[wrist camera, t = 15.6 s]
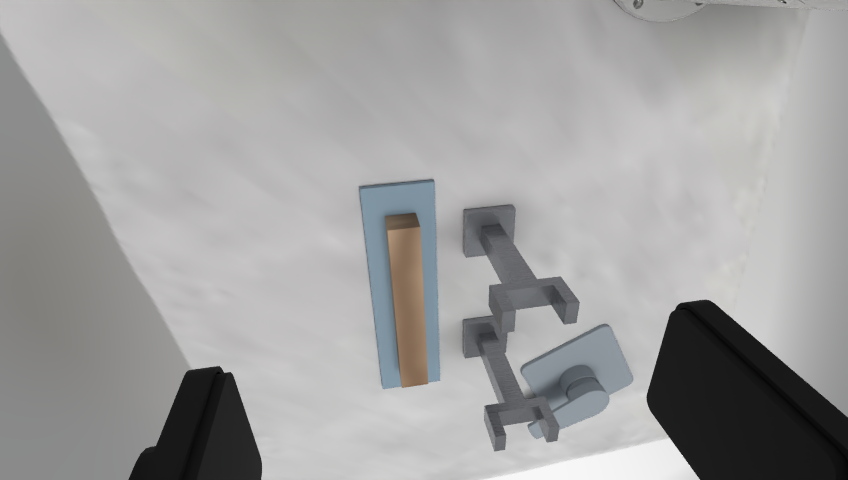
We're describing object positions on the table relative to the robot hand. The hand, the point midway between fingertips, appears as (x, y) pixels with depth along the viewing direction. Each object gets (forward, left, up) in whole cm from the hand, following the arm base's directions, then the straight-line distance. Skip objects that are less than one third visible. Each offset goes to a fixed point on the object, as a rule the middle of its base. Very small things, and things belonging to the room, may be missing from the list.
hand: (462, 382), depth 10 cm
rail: (-2, +22, -33) cm, 39 cm away
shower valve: (-22, +39, -34) cm, 56 cm away
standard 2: (-10, +15, -33) cm, 38 cm away
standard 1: (-10, +29, -33) cm, 45 cm away
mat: (-1, +22, -33) cm, 40 cm away
